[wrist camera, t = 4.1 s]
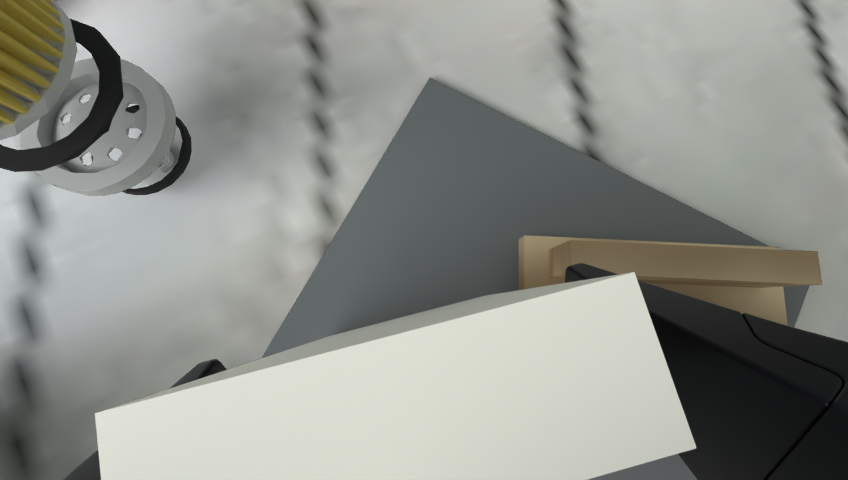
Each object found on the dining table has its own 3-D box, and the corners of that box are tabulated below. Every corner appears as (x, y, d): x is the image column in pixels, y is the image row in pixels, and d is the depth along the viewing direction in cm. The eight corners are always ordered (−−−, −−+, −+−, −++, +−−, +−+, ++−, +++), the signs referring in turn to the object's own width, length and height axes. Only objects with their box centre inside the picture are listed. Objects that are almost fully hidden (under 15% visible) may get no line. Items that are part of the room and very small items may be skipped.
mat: (806, 269, 17) (815, 269, 17) (658, 672, 15) (665, 681, 14) (429, 81, 19) (429, 77, 19) (232, 411, 16) (227, 414, 16)
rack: (775, 412, 16) (873, 442, 12) (518, 399, 16) (544, 425, 12) (757, 250, 17) (842, 236, 14) (518, 239, 17) (542, 222, 14)
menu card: (498, 344, 16) (697, 448, 4) (342, 386, 16) (113, 616, 4) (484, 295, 17) (634, 272, 5) (331, 335, 16) (94, 413, 5)
